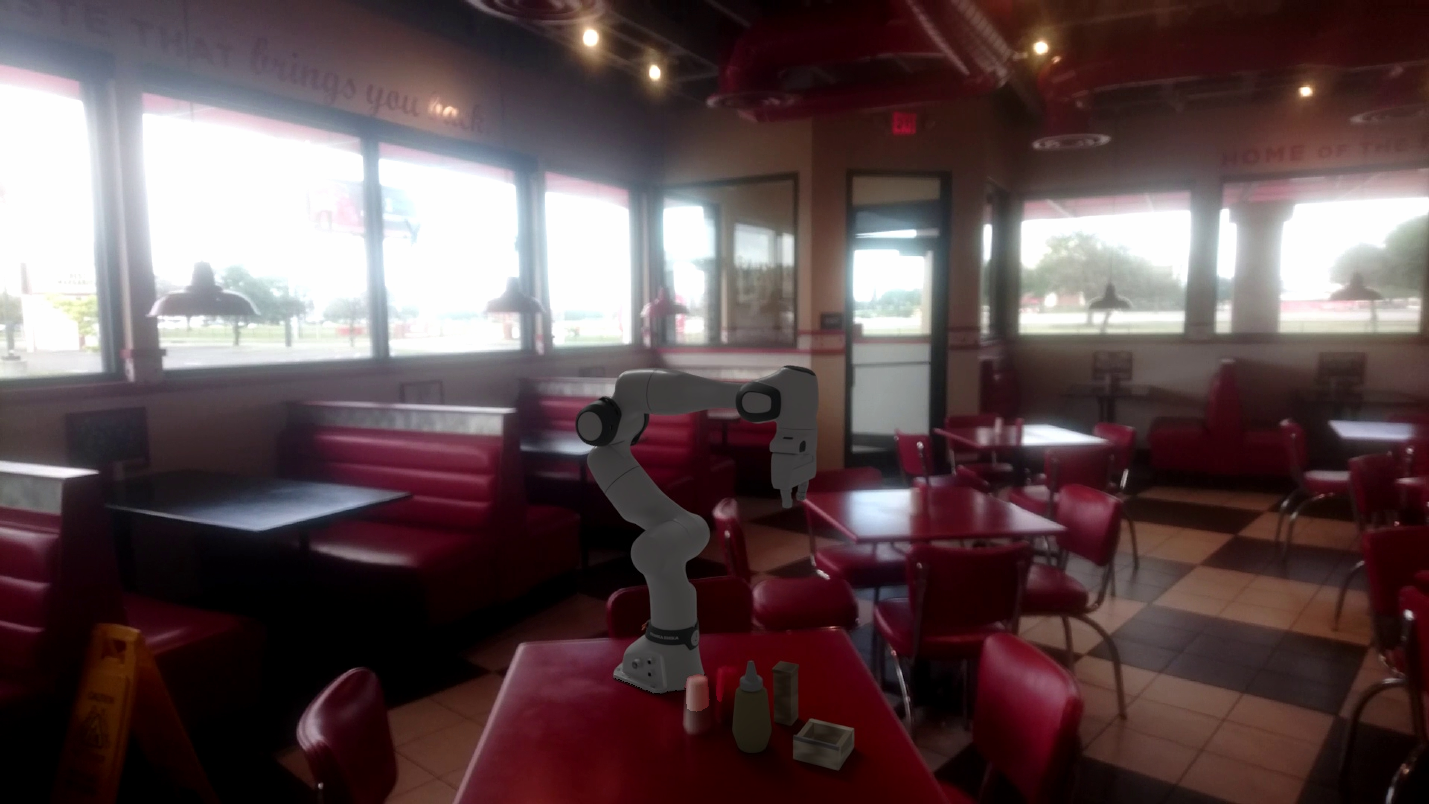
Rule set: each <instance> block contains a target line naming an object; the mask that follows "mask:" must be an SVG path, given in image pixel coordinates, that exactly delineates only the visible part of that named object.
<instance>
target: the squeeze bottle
mask: <svg viewBox="0 0 1429 804" xmlns="http://www.w3.org/2000/svg"><path fill="white" fill-rule="evenodd" d="M763 681H764V680H763V677H761V676H760V675H758V674H757V669H756V665H755V661H754V660H748V661H747V666H746V669H745V673H744V675H742V676H741V677H740V678H739V686H738V687H737V688H736V690H735V694H734V707H733V717H732V726H731V727H732V728H731V729H732V734H733V737H734V740H735V742H736V744H737V747H738V749H739V750H741V751H742V752H744V753H749V754H757V753H761V752H763V751H764V750H766V748H767V746H768V743H769V740H770V738H771V735H772V721H771V714H770V713H771V712H770V705H769V696H768V694H769V693H768V690H767V688H766V687H765V686H764V684H763V683H764V682H763Z"/></svg>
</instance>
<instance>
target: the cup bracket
mask: <svg viewBox="0 0 1429 804" xmlns="http://www.w3.org/2000/svg"><path fill="white" fill-rule="evenodd" d="M854 748H855V728H854V727H849V726H845V725H840V724H837V723H832V722H828V721H825V720H824V721H823V720H820V719H816V718H815V719H814V718H809V719H808V721H807V722H806V723H805V725H804V726H803V727H802V728H801V730H800V731H799V732H798V733H797V734H793V735H792V754H793V755H792V759H793V760H796V761H799V762H804V763H806V764H807V763H808V764H811V765H816V766H820V767H822V768H826V769H830V770H835V771H839V770H840V769H841V768H842V766H843V764H844V763H845V762H846V760H847V759H848V757H849V756H850V754H851V753H852V751H853V750H854Z"/></svg>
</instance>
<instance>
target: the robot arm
mask: <svg viewBox="0 0 1429 804" xmlns="http://www.w3.org/2000/svg"><path fill="white" fill-rule="evenodd" d="M819 400H820V399H819V382H818V376H817V375H816V372H814V371H813V370H812V369H810V368H807V367H803V366H798V365H790V364H788V365H784V366H782V367H781V368H779V369H778V370H777V371H775V372H773V373H771V374H769V375H766V376H764V377H760V378H757V379H754V380H750V381H748V382H738V381H737V382H734V381H724V380H723V381H721V380H716V379H712V378H706V377H704V376H699V375H696V374H693V373H689V372H686V371H682V370H681V371H680V370H675V369H671V368H662V367H639V368H633V369H632V368H631V369H630V368H629V369H627V370H625V371H623V372H622V373H620V374H619V376H618V377H617V379H616V381H615V386H614V391H613V393H612V395H610V396H607V395H603V396H600V397H599V398H598V399H595V400H594V401H591V402H590V403H588V404H587V405H586V406H584V407H582V409H580V411H578V413H577V415H576V418H575V422H574V423H575V424H574V425H575V432H576V434H577V435H578V436H577V437H578V438H579V439H580V440H581V441H582V442H583V443H585V444H586V445H589V446H592V448H591V450H590V451H589V453H588V454H587V458H586V463H587V467H588V468H589V471H590V472H591V474H592V476H593V478H594V481H595V482H596V484H598V487H599V488H600V490H601V491H602V492H603V493H604V495H605V496H606V497H607V499H608V500H609V501H610V503H611V504H612V505H613V507H614V508H615V510H617V512H618V514H620V515H619V516H621V517H622V519H624V520H625V521H627V522H629V523H632V524H634V525H635V524H636V525H637V526H639V527H640V528H641V529H643V530H644V531H643V532H642V533H641V534H640V535H639V536H638V537H637V538H636V539H635V540H634V541H633V542H632V545H631V550H630V558H631V561H632V563H633V566H634V567H635V568H636V569H637V571H639V572H640V573H641V574H643V576H644V578H645V582H646V585H647V588H648V592H649V603H650V605H649V606H650V619H648V620H646V622H645V623H644V624H642V625H641V627H642V629H641V631H644V630H645V633H644V634H643V635H642V636H641V637H639V638H638V639H636V640H635V641H634V642H632V643H631V644H630V645H629V646H628V647H627V648H626V650H625V651H624V654H623V658H622V662H621V663H619V665H617V667H615V668H614V671H613V676H612V677H613V679H615V678H616V679H615V680H618V679H620V680H622V681H621V682H623V681H624V682H623V683H625V682H628V683H630V684H629V685H631V684H633V685H635V686H634V687H636V686H637V687H636V688H638V687H640V688H639V689H641V688H642V689H641V690H644V691H646V690H648V691H647V692H649V691H650V693H651V692H652V694H654V693H660V694H664V693H667V691H668V692H673V691H675V690H677V691H683V690H685V689H684V687H685V684H686V681H687V678H688V677H689V676H693V675H696V674H702V675H704V674H705V671H704V669H703V664H702V660H701V654H700V649H699V647H700V646H699V643H700V626H699V624H700V623H699V619H698V617H697V616H698V614H697V613H698V611H697V609H698V608H697V606H698V605H697V591H696V588H695V586H694V585H693V584H692V583H691V582H689V579H688V577H687V572H686V565H687V562H688V561H690V560H692V559H694V558H695V557H697V556H698V555H700V553H702V551H703V550H704V549H705V548H706V546H708V543H709V541H710V537H711V533H710V527H709V525H708V523H707V521H706V520H705V519H704V518H703V517H702V516H701V515H698V514H696V513H692V512H690V511H687V509H684V508H683V507H681V506H680V505H679V504H678V503H676V501H674V500H672V499H671V498H669V496H668V495H667V494H665V492H663V491H662V490H661V489H660V488H659V486H658V485H657V484H656V483H655V482H654V481H653V479H652V478H651V477H650V476H649V474H648V473H647V472H646V470H644V468H643V467H642V466H641V465H640V463H639V462H638V460H636V458H635V457H634V455H633V454H632V451H631V447H633V446H636V445H637V444H638V442H639V441H640V439H641V436H642V435H643V434H644V432H645V431H646V429H647V427H648V425H649V423H650V415H656V416H668V417H669V416H681V415H686V414H692V413H696V412H700V411H705V410H711V409H733V410H734V409H735V410H736V411H737V414H739V416H740V417H741V418H742V419H743V420H745V421H746V422H749V423H753V424H763V423H765V424H766V423H771V422H775V423H776V432H775V435H774V437H773V438H772V440H771V441H770V443H769V452H770V453H771V452H772V454H771V463H770V468H771V469H770V473H771V475H770V476H771V484H772V487H773V489H777V490H780V496H781V501H782V502H781V504H782V505H781V506H782V508H784V509H790V508H792V507H793V499H792V493H793V488H794V487H797V492H796V500H797V501H800V502H803V501H805V500H806V499H807V491H808V488H809V484H810V481H809V480H813V479H814V478H816V476H817V475H816V474H817V449H818V432H819V431H818V429H819V428H818V421H817V415H818V411H819ZM620 680H619V681H620ZM628 683H627V684H628ZM633 685H632V686H633Z"/></svg>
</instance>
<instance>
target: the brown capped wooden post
mask: <svg viewBox="0 0 1429 804" xmlns="http://www.w3.org/2000/svg"><path fill="white" fill-rule="evenodd" d="M799 669H800V664H799V663H798V664H797V663H793V662H788V661H787V662H786V661H783V660H779V662H778V663H777V664H775V666H773V667H772V668H771V673H773V677H772V678H773V679H772V680H773V681H772V682H773V722H774V723H777V724H782V725H785V726H789V727H792V726H793V724H794V723H795V722H796V721H797V719H799Z"/></svg>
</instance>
